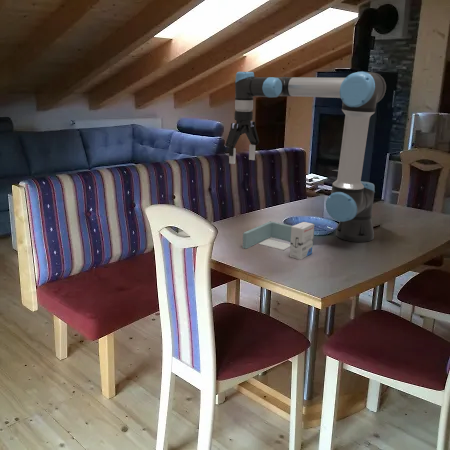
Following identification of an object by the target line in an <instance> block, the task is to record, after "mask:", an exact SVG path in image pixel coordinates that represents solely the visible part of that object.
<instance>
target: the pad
mask: <svg viewBox="0 0 450 450" xmlns="http://www.w3.org/2000/svg"><path fill="white" fill-rule="evenodd" d="M258 245H261V246H264V247H269V248H273V249H276V250H279V251H280V250H281V251H285V250H287V249H290V243H287V242H283V241H277V240H274V239H270V238H268V239H266V240H263V241H261V242H259V243H258Z"/></svg>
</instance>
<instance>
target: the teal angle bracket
mask: <svg viewBox="0 0 450 450" xmlns="http://www.w3.org/2000/svg"><path fill="white" fill-rule="evenodd" d="M292 226H293V225H291V224H286V223H282V222H281V223H280V222H276V221H272V220H270V221H267V222H265V223H263V224H260V225H258V226H255V227H254V228H251V229H249V230H247V231H244V232H243V233H242V249H248V248H251V247H253V246H255V245H257V244H259V243H261V242H263V241H265V240H267V239H270V238H275V239H279V240H283V241H287V242H291V227H292ZM314 239H315V233H314V234H313V242H314Z"/></svg>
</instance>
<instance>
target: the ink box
mask: <svg viewBox="0 0 450 450" xmlns="http://www.w3.org/2000/svg"><path fill="white" fill-rule="evenodd" d="M291 226H292V227H291V241H290V243H289V244H290V247H289V257H290V258H293V259H297V260H299V261H300V260H302V259H304V258H306V257H308V256H310V255H312V253H313V246H314V241H313V234H314V235H315V224H314V223H311V222H306V221H302V222H300V223H296V224H294V225H291Z"/></svg>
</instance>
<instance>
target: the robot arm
mask: <svg viewBox="0 0 450 450" xmlns="http://www.w3.org/2000/svg"><path fill="white" fill-rule="evenodd" d="M234 85H235V86H234V87H235V88H234V90H235V91H234V92H235V93H234V109H235V111H234V121H236V123H233V122H232V123H230V129H229V132H228V135H227V138H226V141H225V143H224V144H225V147H226V148H228V156H229V159H228V164H229V165H235V164H236V151H237V150H236V149H237V148H235V147H236V145H237V143H238V141H239V139H240V137H241V136H242V135H244V134H245V135H246V137H247V139H248V141H249V143H250V144H248V145H249V146H248V147H249V149H248V160H249V161H250V160H251V161H256V148H257V146H258V145H259V143H260V139H259V138H260V137H259V135H258V130H257V127H256V121H253V119H254V118H253V116H254V113H253V110H254V97H263V98H269V99H270V98H278V97H304V98H309V97H310V98H333V99H334V98H335V99H336V98H337V99H341V101H342V106H341V111H342V113H343V114H344V115H345V116H344V124H343V132H342V138H341V139H342V140H341V147H340V155H339V162H338V163H339V164H338V169H337V170H338V172H337V177H336V178H337V179H336V180H334V181H333V182H332V186H331V192H330V193H331V194H330V195H328V196H327V198H326V201H325V208H326V209H325V210H326V212H327V214H328V215H329V217H331V218H332V219H333V220H334V221H338V222H339V223H338V224H337V227H336V228H335V229H336V230H335V236H336V237H337V238H339V239H341V240H344V241H348V242H354V243H365V242H371V241H373V240H374V238H375V232H374V231H375V230H374V226H373V222H372V215H373V207H374V198H375V193H376V191H375V188H376V187H375V184H374V183H372V182H369V181H362V174H363V167H364V161H365V154H366V153H365V152H366V146H367V140H368V139H367V138H368V133H369V125H370V119H371V116H372V115H374V114H375V113H376V107H377V103H379V102H380V101H382V99H383V98H384V96H385V95H386V94H385V93H386V90H387V84H386V81H385V79H384V77H383V76H381V74H380V73H377V72H372V71H357V72H352V73H350V74H348V75H347V76H346V77H304V76H303V77H300V76H298V77H289V76H288V77H287V76H281V77H277V76H274V77H273V76H272V77H271V76H269V77H268V76H264V77H262V76H261V77H259V76H255V73H254V71H237V72H236V73H235V82H234Z"/></svg>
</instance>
